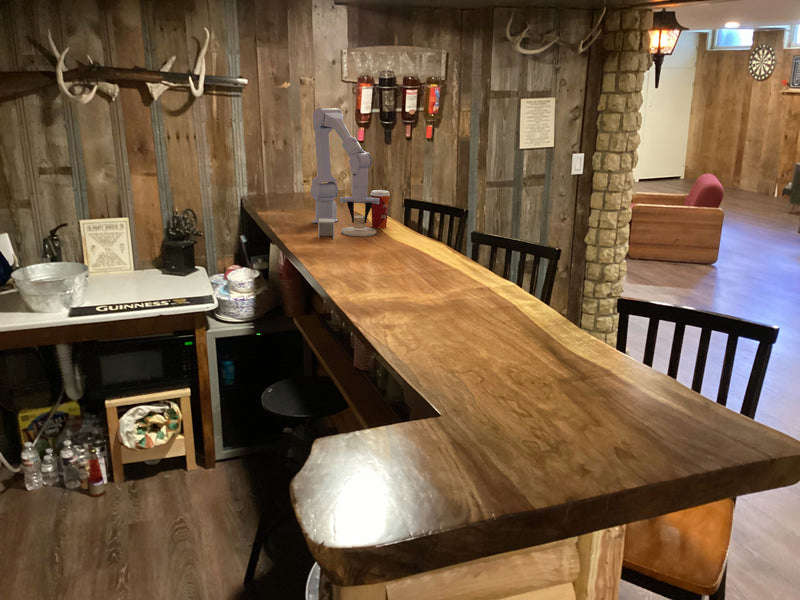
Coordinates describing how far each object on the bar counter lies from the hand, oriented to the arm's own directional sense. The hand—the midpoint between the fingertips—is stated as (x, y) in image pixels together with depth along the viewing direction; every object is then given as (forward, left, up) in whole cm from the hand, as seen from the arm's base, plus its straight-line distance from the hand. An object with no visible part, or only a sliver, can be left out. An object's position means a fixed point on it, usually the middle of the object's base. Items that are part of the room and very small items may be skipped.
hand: (359, 222), depth 260 cm
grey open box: (+13, -8, -4) cm, 15 cm away
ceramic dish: (0, 0, -4) cm, 4 cm away
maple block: (0, 0, -2) cm, 2 cm away
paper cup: (-14, +3, -4) cm, 15 cm away
